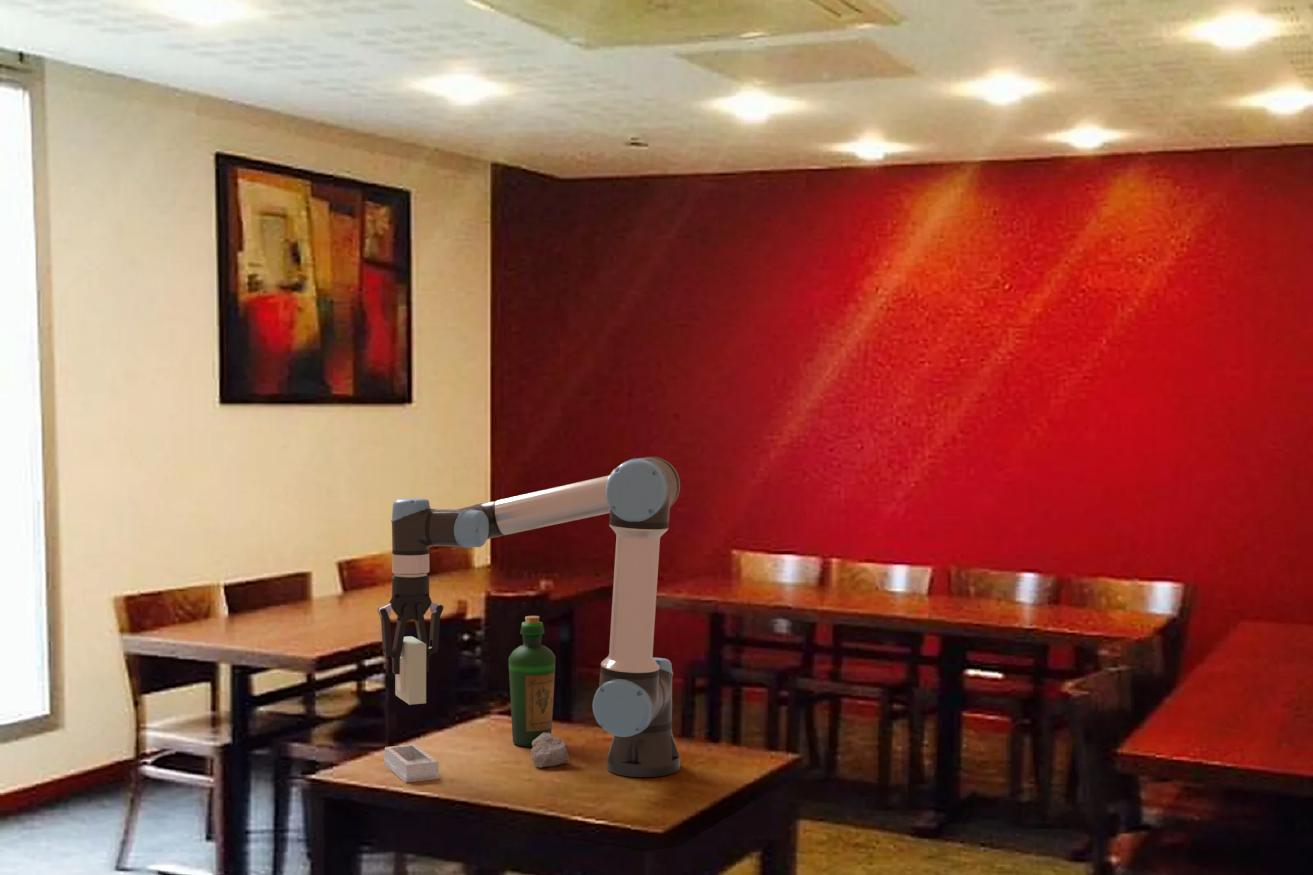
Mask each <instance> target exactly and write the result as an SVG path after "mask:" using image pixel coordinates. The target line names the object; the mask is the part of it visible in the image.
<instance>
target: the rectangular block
mask: <svg viewBox="0 0 1313 875" xmlns="http://www.w3.org/2000/svg"><path fill="white" fill-rule="evenodd" d="M401 657H402V658H403V659H404V691H399V690H398V689H397V674H394V676H395V677H394V679H395V681H394V682H395V683H394V687H395V690H394V694H395V696H396V697H398V698H399V699H400V700H402V701H403V702H405V703H406V704H408V705H409V706H411V705H420V704H427V672H426V644H425V643H424V642H422V641H420V640H418V638H416V637H414V636H411V635H409V636H408V635H407V636H404V640H403V645H402V651H401Z"/></svg>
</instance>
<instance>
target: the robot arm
mask: <svg viewBox="0 0 1313 875" xmlns="http://www.w3.org/2000/svg"><path fill="white" fill-rule="evenodd" d="M680 489H681V481H680V477H679V474H678V472H677V470H676V469H675V467H674V466H673V465H672V464H671V463H670V462H668V461H667V460H665V459H663V458H661V457H658V456H645V457H639V458H631V459H629V460H626V461H624V462H622V463H621V464H619V465H618V466H617V467H616V468H614V469H613V470H612V471H611V473H610V474H609V475H605V476H601V477H596V478H592V479H591V478H590V479H586V480H582V481H577V482H574V483H570V484H569V483H568V484H565V485H564V484H563V485H561V486H559V485H558V486H554V487H551V488H547V489H542V490H537V491H533V492H528V493H524V494H519V495H515V496H511V497H507V498H501V499H498V500H494V501H488V502H482V503H481V502H480V503H476V504H473V505H470V506H466V507H461V508H457V509H456V508H455V509H436V508H431V506H430V501H429V499H427V498H419V497H409V498H408V497H405V498H398V499H396V500H394V502H393V504H392V510H391V512H392V514H391V520H390V521H391V543H392V544H391V548H392V550H391V573H393V574H394V575H392V576H391V598H390V601H389V604H387V605H384V606H379V607H378V608H377V613H378V615H379V617H380V622H381V623H380V626H381V642H382V653H383V655H385V656H386V657H390V658H391V664H392V666H391V671H392V674H394V675H395V674H397V689H398V690H399V691H404V659H403V658H402V657H401V651H402V645H403V640H404V637H405V633H406V628H407V625H408V622H409V621H412V620H413V622H414V624H415V628H416V634H417V639H418V640H420V641H422V642H424V643H425V644H426V673H429V670H430V662H429V661H430V657H431V655H433V654H437V653H438V652H439V645H440V644H439V642H440V641H439V640H440V623H441V615H442V613H443V610H444V606H443V605H442V604H440V603H435V602H433V601H432V598H431V597H430V576H429V575H428V573H430V547H453V548H456V547H457V548H463V549H469V548H481V547H483V546H484V545H485V544H486V542H487V540H490V539H493V538H498V537H499V538H500V537H502V536H507V535H513V534H517V533H522V532H525V531H531V530H536V529H540V528H544V527H549V526H553V525H559V524H564V523H568V522H573V521H578V520H582V519H588V518H592V517H597V516H601V515H606V514H609V525H608V526H609V528H611V530H613V532H614V533H615V535H616V538H615V539H616V541H615V554H614V570H613V585H612V586H613V588H612V601H611V602H612V603H611V604H612V605H611V618H610V619H611V620H610V635H609V648H608V649H609V650H608V651H609V653H608V655H607V657H605V658H604V659H603V660H602V661H600V662H601V663H600V671H599V682H598V683H599V687H598V688H597V689H596V691H595V694H594V696H593V699H592V713H593V716H594V719H595V720H596V723H597V724H598V725H599V726H600V727H601V728H602V729H603V730H604V731H605V732H607V733H608V734H610V735H612V736H613V738H612V740H611V744H610V747H609V750H608V754H607V757H606V770H607V771H608V772H610V773H612V774H614V775H618V776H623V777H629V778H630V777H632V778H656V777H663V776H669V775H673V774H675V773H678V771H680V770H681V756H680V753H679V750H678V746H677V744H676V741H675V738H674V733H673V729H672V728H673V725H672V724H673V720H672V719H673V718H672V717H673V716H672V715H673V697H672V696H673V676H674V672H673V668H672V667H673V666H672V662H671V661H670V660H669V659H668V658H665V657H664V658H662V657H655V656H654V655H653V653H654V641H655V640H654V639H655V638H654V637H655V622H656V606H657V593H658V592H657V589H658V575H659V574H658V573H659V561H660V560H659V559H660V542H661V537H662V536H663V535H664V534H665V533H666V532H667V531H668V530H669V525H670V523H669V522H670V512H671V511H670V510H671V509H670V508H671V507H672V506H673V505H674V504H675V502H677V501H676V500H677V499H678V498H679V494H680V491H681V490H680ZM428 610H430V613H431V614H430V623H429V624H430V625H429V629H430V630H429V640H428V637H427V632H426V631H427V630H426V625H425V623H426V622H425V614H426V613H427V612H428ZM392 611H393V613H395V615H396V616H397V617H396V627H395V632H394V638H393V643H392V635H391V634H392V631H391V619H390V617H391V615H392ZM392 644H393V645H392ZM653 656H654V657H653Z"/></svg>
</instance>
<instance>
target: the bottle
mask: <svg viewBox="0 0 1313 875" xmlns="http://www.w3.org/2000/svg"><path fill="white" fill-rule="evenodd" d="M524 619H525V621H522V622H521V628H520V631H519V634H520V635H522V643H523V644H522V645H519V646H518V647H516V648H515V649H514V650H513V651H512V652H511V653H510V655H509V657H508V660H507V661H508V673H509V674H508V676H509V679H508V680H509V694H510V697H509V698H510V711H511V712H510V713H511V714H510V715H511V733H512V734H511V735H512V743H513V744H515V745H517V746H520V747H523V746H524V747H525V748H532V747H533V746H532V741H533V740H534V739H536V738H537V737H539V736H540V735H541V734H542V733H543V732H546V733H551V734H552V729H553V728H552V727H553V710H554V695H555V694H554V693H555V676H556V674H555V673H556V658H557V657H556V656H555V654H554V652H553V650H552V649H550V648H549V647H547V646H546V645H543V644H542V636H543V634H545V628H544V624H543V621H542V622H541V621H540V616H539V615H526V616H525V617H524Z"/></svg>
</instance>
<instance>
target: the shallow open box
mask: <svg viewBox="0 0 1313 875" xmlns="http://www.w3.org/2000/svg"><path fill="white" fill-rule="evenodd" d="M383 765H384V766H385V767H386V768H387V769H389V770H390V771H391V772H392V773H393V774H395V776H397V777H398V778H399V779H400V780H401V781H403V782H404V783H405V784H407V783H414V782H415V783H417V782H424V781H432V780H440V773H439V761H438V760H437V759H436V758H434V757H433V756H432V755H430V754H429V753H427V752H426V751H425V750H424V749H422V748H421V747H419V745H417V744H415V743H413V744H405V745H404V744H402V745H395V746H394V745H393V746H385V747H384V759H383Z"/></svg>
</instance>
